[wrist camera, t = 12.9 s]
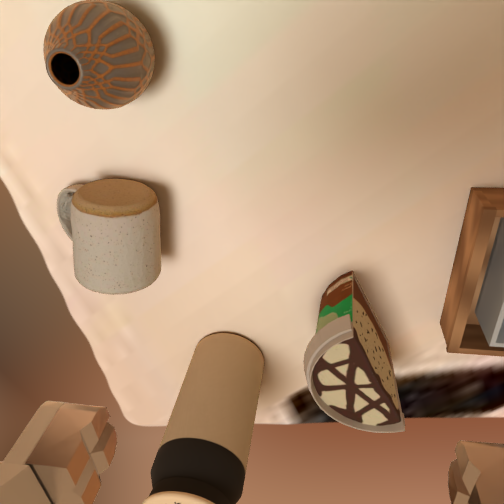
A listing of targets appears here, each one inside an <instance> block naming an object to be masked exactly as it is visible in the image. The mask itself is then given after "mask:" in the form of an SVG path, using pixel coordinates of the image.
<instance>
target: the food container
mask: <svg viewBox="0 0 504 504" xmlns="http://www.w3.org/2000/svg"><path fill="white" fill-rule="evenodd" d="M304 371H305V375H306V380H307V384H308V387H309V390H310V392H311V394H312V396H313V398H314V399H315V401H316V403H317V404H318V405H319V407H320V408H321V409H322V410H323V411H324V412H325V413H326V414H327V415H329V416H330V417H332V418H333V419H335V420H336V421H338V422H340V423H342V424H344V425H347V426H350V427H352V428H356V429H360V430H364V431H370V432H382V433H387V432H388V433H390V432H401V431H405V427H404V426H405V421H404V414H403V413H402V411H401V406H400V401H399V395H398V390H397V385H396V380H395V375H394V369H393V364H392V359H391V354H390V349H389V343H388V340H387V338H386V336H385V334H384V332H383V330H382V328H381V326H380V324H379V322H378V320H377V318H376V316H375V314H374V312H373V310H372V308H371V306H370V304H369V302H368V300H367V298H366V296H365V294H364V293H363V291H362V289H361V287H360V285H359V283H358V281H357V279H356V277H355V275H354V273H353V271H350V272H348V273H346V274H343V275H341V276H340V277H339V278H337V279H336V280H335V281H333V282H332V283H331V284H330V285H329V286H328V288H327V289H326V291H325V292H324V294H323V295H322V300H321V305H320V310H319V316H318V323H317V329H316V334H315V336H314V337H313V338H312V339H311V341H310V343H309V344H308V346H307V349H306V351H305V355H304Z"/></svg>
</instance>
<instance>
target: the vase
mask: <svg viewBox="0 0 504 504" xmlns="http://www.w3.org/2000/svg"><path fill="white" fill-rule="evenodd" d="M44 59H45V64H46V69H47V73H48V75H49V77H50V78H51V80H52V81H53V82H54V83H55V84H56V86H57V87H58V88H59V89H60V90H61V91H62V92H63V93H64V94H65V95H66V96H67V97H69V98H70V99H71V100H73V101H75V102H76V103H78V104H81V105H83V106H86V107H90V108H94V109H114V108H119V107H122V106H124V105H127V104H129V103H130V102H132V101H133V100H135V99H136V98H137V97H139V96H140V95H141V94H142V93H143V92H144V90H145V89H146V88H147V86H148V84H149V82H150V80H151V78H152V75H153V70H154V63H155V56H154V49H153V45H152V41H151V39H150V36H149V34H148V32H147V30H146V29H145V27H144V26H143V24H142V23H141V22H140V21H139V20H138V19H137V18H136V17H135V16H134V15H133V14H132V13H131V12H129V11H128V10H126V9H125V8H123V7H121V6H119V5H117V4H115V3H112V2H108V1H102V0H85V1H80V2H77V3H74V4H72V5H70V6H68V7H66V8H65V9H63V10H62V11H61V12H60V13H59V14H58V15H57V16H56V17H55V18H54V19H53V21H52V22H51V24H50V25H49V27H48V29H47V32H46V35H45V39H44Z"/></svg>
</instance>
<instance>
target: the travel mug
mask: <svg viewBox="0 0 504 504" xmlns="http://www.w3.org/2000/svg"><path fill="white" fill-rule="evenodd" d="M263 369H264V358H263V355H262V353H261V352H260V350H259V349H258V348H257V347H256V346H255V345H254V344H253V343H252V342H250V341H249V340H247V339H245V338H243V337H241V336H238V335H235V334H229V333H217V334H212V335H209V336H207V337H205V338H203V339H202V340H201V341H200V342H199V343H198V344H197V346H196V349H195V351H194V354H193V357H192V359H191V362H190V365H189V368H188V370H187V373H186V376H185V379H184V381H183V384H182V387H181V389H180V392H179V395H178V398H177V400H176V403H175V406H174V409H173V411H172V414H171V417H170V420H169V422H168V425H167V428H166V431H165V433H164V436H163V439H162V441H161V444H160V447H159V450H158V452H157V455H156V458H155V460H154V463H153V466H152V469H151V479H152V486H153V490H152V491H151V493H150V495H149V497H147V498H146V499H145V500H144V501H143V503H142V504H236V503H237V502H238V500H239V499H240V497H241V495H242V491H243V485H244V479H245V473H246V467H247V462H248V455H249V450H250V444H251V438H252V432H253V427H254V421H255V415H256V410H257V404H258V398H259V392H260V386H261V381H262V375H263Z"/></svg>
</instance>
